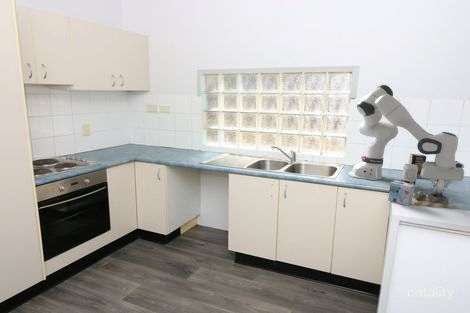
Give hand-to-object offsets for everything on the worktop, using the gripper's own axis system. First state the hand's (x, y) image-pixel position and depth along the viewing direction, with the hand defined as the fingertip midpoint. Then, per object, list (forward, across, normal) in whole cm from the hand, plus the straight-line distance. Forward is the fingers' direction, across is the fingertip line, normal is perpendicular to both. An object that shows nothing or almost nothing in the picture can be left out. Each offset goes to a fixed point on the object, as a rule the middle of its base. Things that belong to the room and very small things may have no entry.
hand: (439, 187), depth 174 cm
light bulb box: (+10, -20, -3) cm, 22 cm away
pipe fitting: (+5, 0, 0) cm, 5 cm away
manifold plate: (+10, -4, 0) cm, 10 cm away
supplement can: (+10, -7, +26) cm, 29 cm away
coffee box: (+10, +8, +57) cm, 58 cm away
